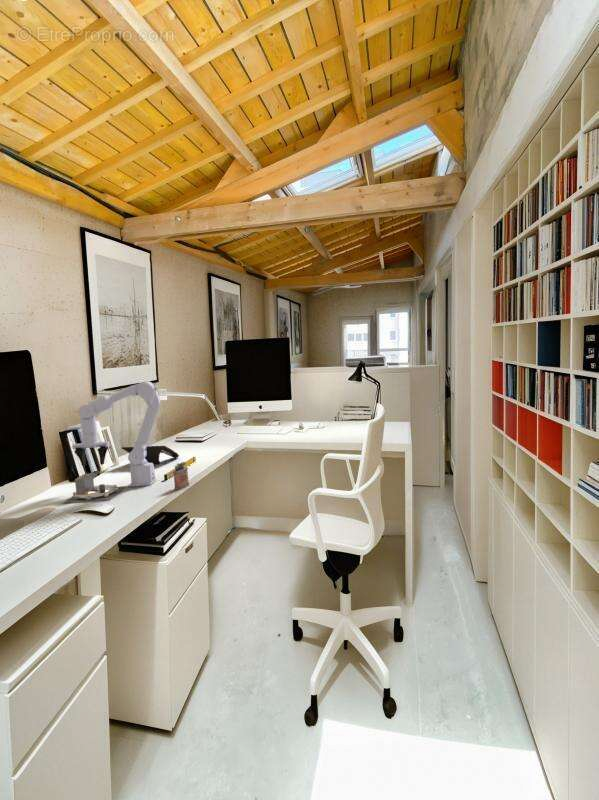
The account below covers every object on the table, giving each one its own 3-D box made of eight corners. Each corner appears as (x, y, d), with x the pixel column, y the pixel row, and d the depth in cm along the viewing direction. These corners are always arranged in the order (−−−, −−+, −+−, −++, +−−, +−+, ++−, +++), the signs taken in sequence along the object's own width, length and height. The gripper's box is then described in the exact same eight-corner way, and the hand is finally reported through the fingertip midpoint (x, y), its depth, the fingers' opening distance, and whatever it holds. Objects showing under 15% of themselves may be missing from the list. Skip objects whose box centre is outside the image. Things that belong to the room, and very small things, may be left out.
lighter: (179, 490, 182) (177, 465, 181) (172, 490, 183) (170, 465, 182) (191, 484, 190) (189, 461, 189) (184, 484, 191) (182, 460, 190)
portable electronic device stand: (181, 469, 243) (183, 452, 246) (163, 459, 222) (165, 441, 225) (140, 470, 246) (143, 454, 249) (118, 461, 225) (121, 443, 228)
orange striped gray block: (94, 487, 187) (92, 473, 186) (85, 493, 179) (83, 478, 179) (85, 488, 187) (83, 473, 186) (76, 494, 179) (74, 479, 178)
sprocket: (105, 485, 196) (104, 475, 195) (126, 490, 185) (125, 480, 184) (64, 496, 183) (63, 485, 182) (85, 502, 172) (84, 491, 171)
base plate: (126, 486, 193) (126, 485, 193) (110, 500, 175) (109, 499, 175) (83, 489, 193) (83, 488, 192) (62, 503, 175) (62, 502, 175)
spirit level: (193, 462, 232) (192, 456, 231) (195, 462, 231) (195, 456, 231) (164, 481, 199) (163, 474, 198) (167, 481, 198) (166, 474, 198)
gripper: (67, 435, 186) (71, 468, 187) (103, 433, 186) (106, 465, 188) (75, 432, 193) (79, 464, 194) (110, 430, 193) (113, 461, 195)
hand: (93, 464), depth 192 cm, fingers open, 7 cm apart
